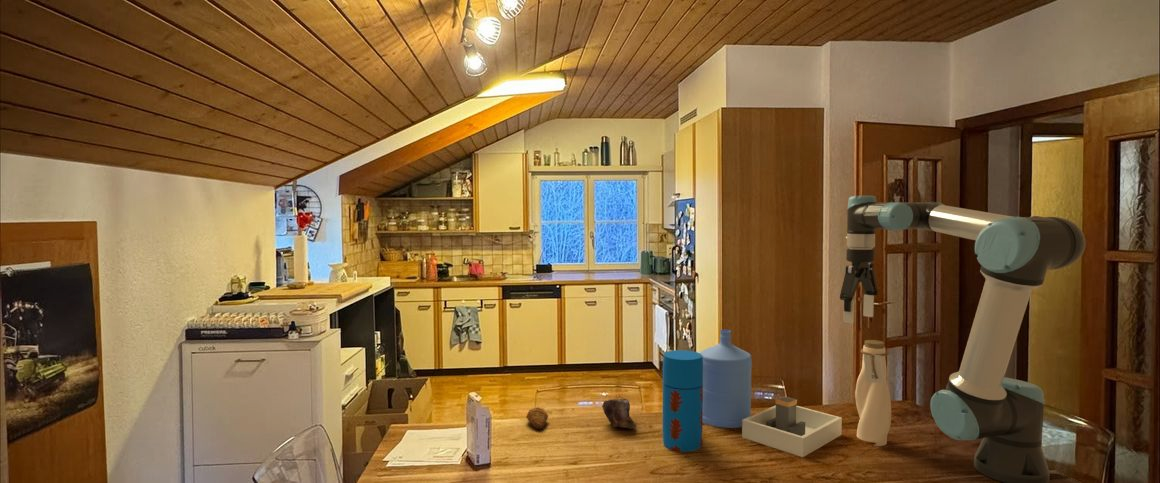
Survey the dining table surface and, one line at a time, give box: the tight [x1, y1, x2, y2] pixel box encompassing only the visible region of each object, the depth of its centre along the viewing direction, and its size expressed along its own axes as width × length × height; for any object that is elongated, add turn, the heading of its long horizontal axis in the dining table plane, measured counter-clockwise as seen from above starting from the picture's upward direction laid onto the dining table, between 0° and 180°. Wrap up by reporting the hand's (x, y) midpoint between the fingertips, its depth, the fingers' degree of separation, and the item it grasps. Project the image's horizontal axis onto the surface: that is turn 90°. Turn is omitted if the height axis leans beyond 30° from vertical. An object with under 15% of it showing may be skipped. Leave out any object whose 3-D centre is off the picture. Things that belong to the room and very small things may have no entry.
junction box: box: [741, 404, 843, 458], centre depth 171 cm, size 18×22×6 cm
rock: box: [601, 398, 637, 430], centre depth 182 cm, size 12×9×10 cm
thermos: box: [662, 349, 703, 453], centre depth 167 cm, size 11×11×25 cm
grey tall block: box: [774, 395, 798, 432], centre depth 172 cm, size 4×4×10 cm
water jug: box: [699, 329, 753, 429], centre depth 184 cm, size 16×16×28 cm
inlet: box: [766, 417, 805, 436], centre depth 172 cm, size 8×8×4 cm
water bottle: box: [854, 339, 892, 447], centre depth 168 cm, size 10×9×28 cm
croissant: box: [525, 406, 549, 431], centre depth 184 cm, size 14×7×5 cm, turn 9°
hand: (858, 319), depth 180 cm, fingers open, 13 cm apart
